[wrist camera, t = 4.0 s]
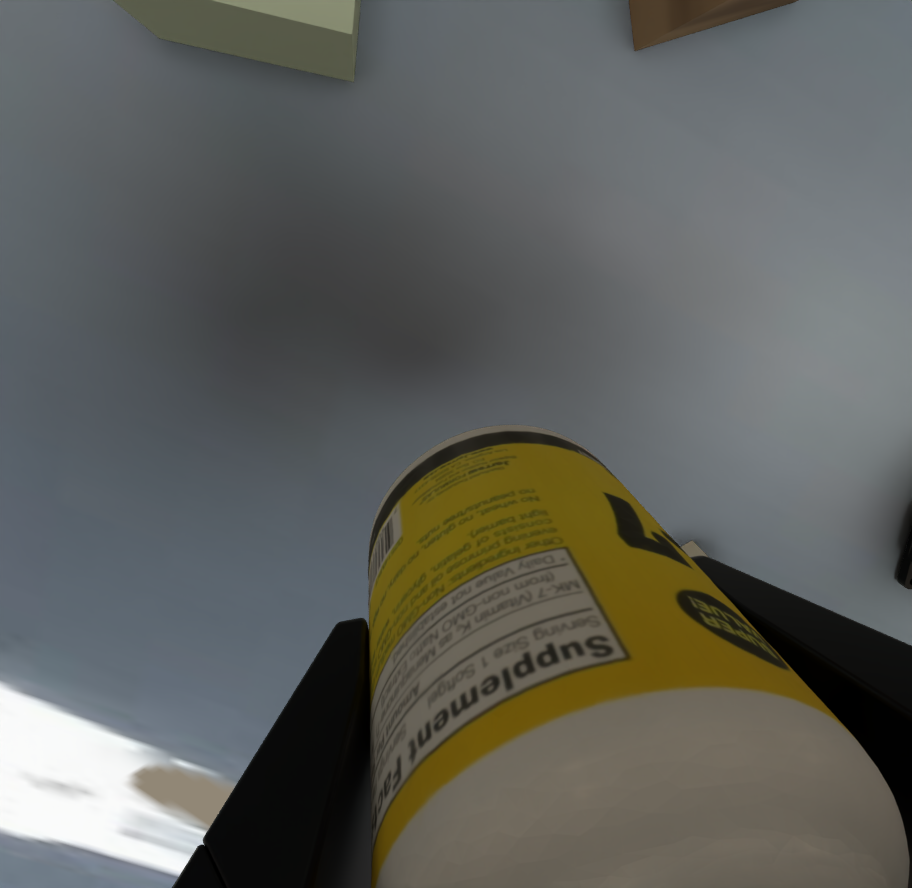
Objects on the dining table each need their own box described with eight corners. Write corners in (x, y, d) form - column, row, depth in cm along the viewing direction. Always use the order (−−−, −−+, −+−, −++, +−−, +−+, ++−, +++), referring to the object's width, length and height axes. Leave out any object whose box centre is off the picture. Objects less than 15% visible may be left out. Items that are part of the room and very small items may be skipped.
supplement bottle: (656, 558, 11) (1283, 1329, 4) (455, 674, 12) (629, 1584, 4) (549, 362, 9) (1449, 1149, 2) (312, 509, 10) (115, 1697, 2)
